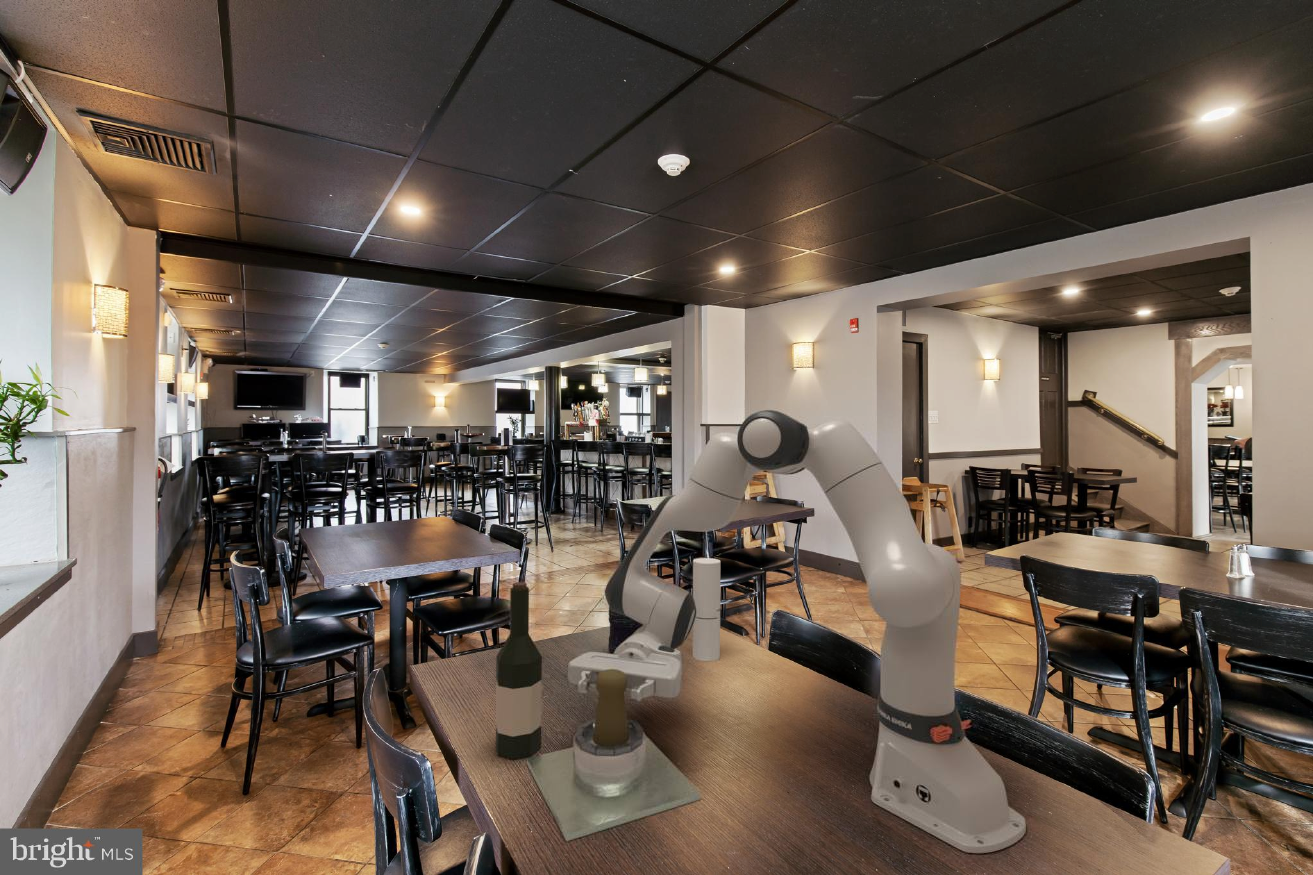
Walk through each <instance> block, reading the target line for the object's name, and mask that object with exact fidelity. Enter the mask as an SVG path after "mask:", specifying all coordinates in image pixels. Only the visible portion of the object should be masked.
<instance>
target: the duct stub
mask: <svg viewBox="0 0 1313 875" xmlns="http://www.w3.org/2000/svg"><path fill="white" fill-rule="evenodd" d="M595 719H596V718H593V719H589V720H587V721H586V722H584V723H583V724H581V725H579V726H578V728H577V730H576V733H575V734H574V736H573V742H572V746H571V747H569V748H564V749H559V750H556V751H551V752H548V753H544V754H539V755H538V754H537V755H533V756H531V757H527V758H526V766H527V767H528V770H529V771H530V773H531V775H532V777H533V779H534V781H535V783H536V786H537V788H538V789H539V791H540V793H541V794H542V798H544V799H543V800H544V801H545V803H546V804H547V806H548V808H549V810H550V812H551V814H552V816H553V818H554V820H555V822H556V824H557V826H558V828H559V830H560V832H561V834H562V836H563V838H564V840H565V841H566V842H570V841H572V840H576V839H579V838H581V837H585V836H588V835H592V834H595V833H598V832H601V831H604V830H608V829H610V828H613V827H617V826H621V825H624V824H627V823H630V822H632V821H636V820H641V819H643V818H646V817H649V816H652V815H656V814H659V813H662V812H665V811H669V810H671V809H674V808H677V807H681V806H684V805H688V804H690V803H694V802H696V801H699V800H702V792H701V791H700V790H699V789H698V788H697V787H696V786H695V785H694V783H693V782H691V781H690V780H689V779H688V778H687V777H686V776H685V775H684V773H683V772H681V770H680V769H679V768H677V766H676V765H674V763H673V762H672V761H671V760H670V759H669V758H668V757H667V756H666V755H665V754H664V752H662V751H661V750H660V749H659V748H658V746H656V744H655V743H654V742H653V741H652V740H651V739H650V738H649V737H648V736H647V735H646V733H645V732H644V731H645V730H644V728H643V727H642V725H640V724H639V723H638V721H636V720H633V719H630V718H627V723H628V732H629V741H628V742H627V743H626V744H622V745H618V746H614V747H608V746H598V745H596V744H595V743H594V742H593V734H594V727H595Z"/></svg>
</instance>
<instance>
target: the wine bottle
mask: <svg viewBox="0 0 1313 875" xmlns="http://www.w3.org/2000/svg"><path fill="white" fill-rule="evenodd" d="M509 593H510V594H509V595H510V597H509V599H510V600H509V603H510V605H509V608H510V609H509V611H510V612H509V617H510V618H509V634H508V636H507V637H506V640H505V641H504V643H503V644H502V647H501V648H500V649H499V652H498V653H497V655H496V657H495V660H496V662H495V663H496V666H495V668H496V671H495V673H496V674H495V676H496V677H495V681H496V682H495V683H496V684H495V750H496V753H497V757H499V758H502V759H506V760H510V761H515V760H522V759H527V758H530V757H533V756H535V754H536V753H537V752H538V751H539V750H541V749H542V696H543V694H542V692H543V691H542V686H543V684H542V683H543V682H542V681H543V680H542V677H543V676H542V675H543V674H542V673H543V671H542V670H543V669H542V668H543V666H542V664H543V660H542V659H543V657H542V654H541V653H540V651H539V650H538V647H537V646H536V644H535V642H534V641H533V639H532V637H531V636H530V634H529V632H530V630H529V627H530V626H529V624H530V622H529V620H530V618H529V617H530V616H529V614H530V613H529V612H530V609H529V608H530V607H529V606H530V605H529V604H530V589H529V586H527V583H526V582H523V581H521V582H520V581H519V582H518V581H517V582H514V583H512V587H510V592H509Z"/></svg>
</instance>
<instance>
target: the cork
mask: <svg viewBox="0 0 1313 875" xmlns="http://www.w3.org/2000/svg"><path fill="white" fill-rule="evenodd" d="M626 687H627V677H626V675H625V674H624V672H622V671H620V670H617V669H607V670H604V671H602V672H600V673H599V674H598V676H597V679H596V687H595V688H596V691H597V692H598V699H597V704H596V705H597V706H596V711H595V712H596V714H595V718H594V719H595V727H594V734H593V742H594V743H595V744H596V745H598V746H608V747H614V746H618V745H622V744H626V743H627V742H628V741H629V732H628V723H627V719H628V716H627V707H626V699H625V692H624V691H625V690H626Z"/></svg>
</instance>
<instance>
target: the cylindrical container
mask: <svg viewBox="0 0 1313 875" xmlns="http://www.w3.org/2000/svg"><path fill="white" fill-rule="evenodd" d="M692 596H693V598H694V601H695V606H696V617H695V620H694V623H693V626H692V658H693V659H694V658H695V659H694V660H697V661H699V660H700V661H699V662H706V661H709V662H716V661H718V660H719V659H720V658H721V560H720V559H717V558H709V557H699V558H698V557H697V558H694V559H693V560H692Z"/></svg>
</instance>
